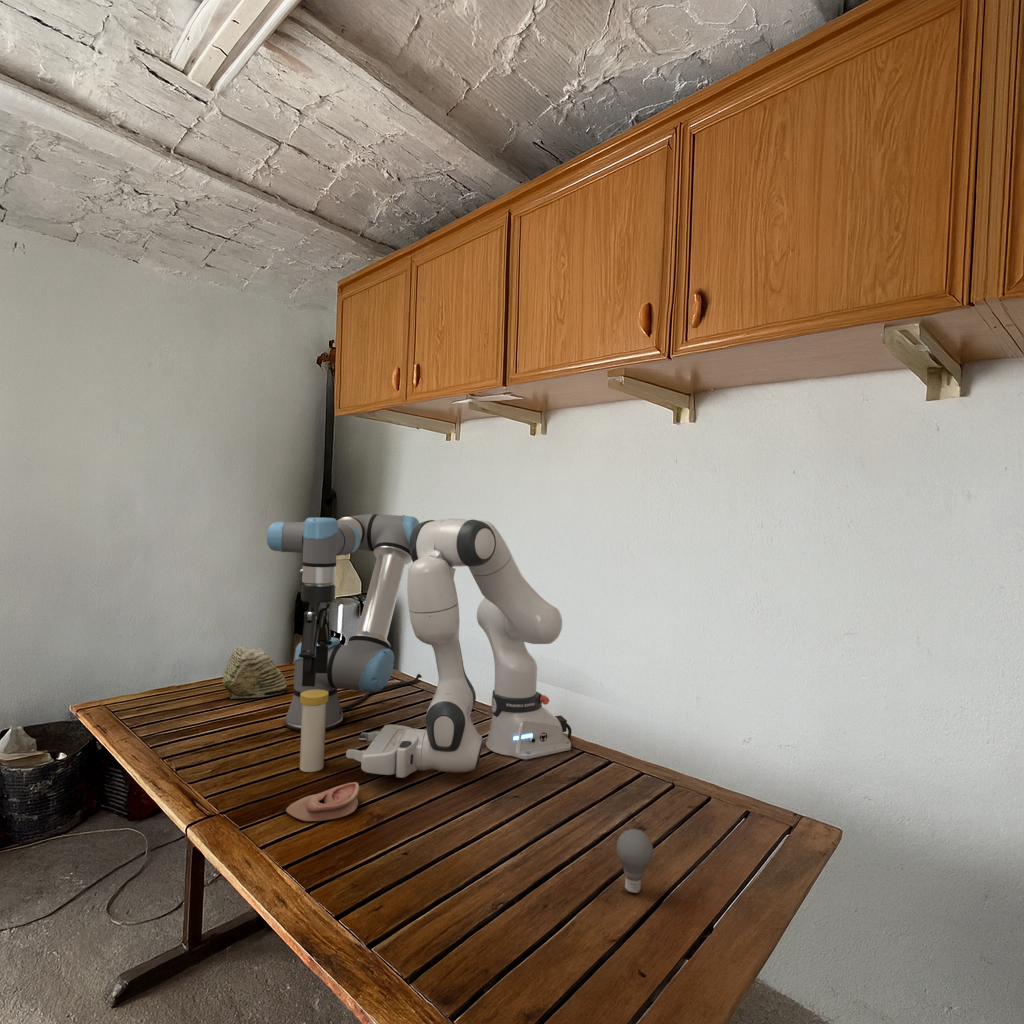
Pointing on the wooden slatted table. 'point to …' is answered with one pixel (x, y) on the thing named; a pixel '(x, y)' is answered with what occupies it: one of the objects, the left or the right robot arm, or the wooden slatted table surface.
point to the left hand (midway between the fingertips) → (315, 679)
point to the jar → (312, 737)
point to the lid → (314, 697)
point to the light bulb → (634, 857)
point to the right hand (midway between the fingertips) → (353, 744)
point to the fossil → (252, 674)
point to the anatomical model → (326, 804)
